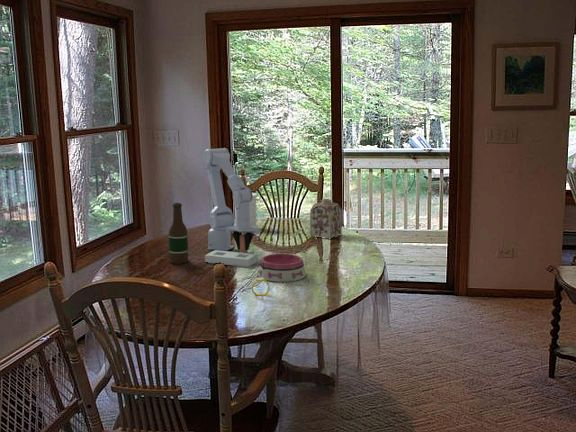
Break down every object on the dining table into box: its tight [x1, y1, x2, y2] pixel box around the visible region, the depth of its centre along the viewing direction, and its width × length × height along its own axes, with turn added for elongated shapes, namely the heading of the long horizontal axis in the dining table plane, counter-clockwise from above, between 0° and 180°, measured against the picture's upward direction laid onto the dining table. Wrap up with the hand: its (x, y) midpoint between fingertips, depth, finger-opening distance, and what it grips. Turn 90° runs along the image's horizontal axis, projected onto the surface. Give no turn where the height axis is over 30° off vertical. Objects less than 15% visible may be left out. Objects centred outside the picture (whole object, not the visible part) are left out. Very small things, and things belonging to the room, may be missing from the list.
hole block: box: [204, 250, 258, 268], centre depth 243 cm, size 19×9×3 cm, turn 71°
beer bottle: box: [168, 202, 189, 265], centre depth 241 cm, size 8×8×24 cm
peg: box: [239, 234, 248, 253], centre depth 251 cm, size 3×3×9 cm
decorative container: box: [250, 192, 259, 229], centre depth 303 cm, size 12×12×18 cm
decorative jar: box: [309, 198, 343, 238], centre depth 288 cm, size 12×12×18 cm
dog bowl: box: [256, 253, 307, 284], centre depth 224 cm, size 18×19×7 cm
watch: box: [251, 277, 270, 297], centre depth 201 cm, size 6×3×6 cm, turn 95°
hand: (243, 249), depth 251 cm, fingers closed on peg, 3 cm apart
